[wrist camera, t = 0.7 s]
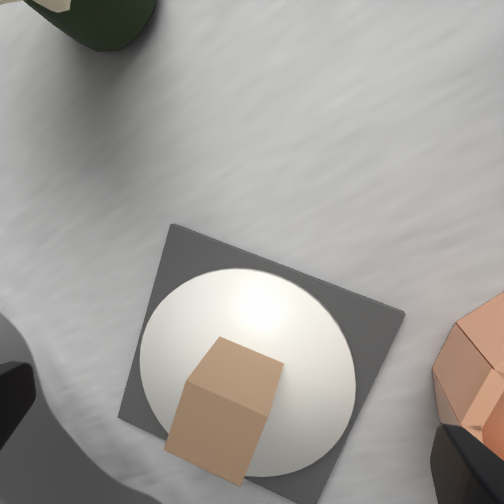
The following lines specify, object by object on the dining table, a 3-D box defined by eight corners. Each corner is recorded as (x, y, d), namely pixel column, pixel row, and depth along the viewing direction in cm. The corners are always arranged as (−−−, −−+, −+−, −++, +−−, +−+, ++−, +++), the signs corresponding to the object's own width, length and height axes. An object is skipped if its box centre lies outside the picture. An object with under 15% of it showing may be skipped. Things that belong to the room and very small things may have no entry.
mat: (313, 503, 24) (312, 510, 23) (121, 412, 26) (117, 417, 26) (404, 311, 20) (405, 314, 20) (173, 223, 22) (170, 224, 22)
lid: (308, 500, 23) (298, 600, 18) (125, 414, 25) (65, 480, 20) (392, 319, 20) (412, 371, 15) (176, 235, 22) (121, 254, 17)
